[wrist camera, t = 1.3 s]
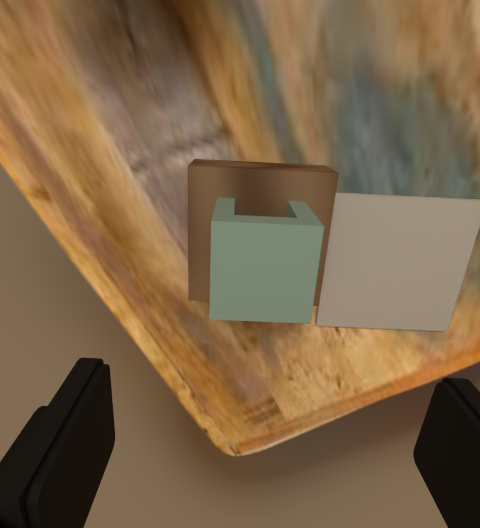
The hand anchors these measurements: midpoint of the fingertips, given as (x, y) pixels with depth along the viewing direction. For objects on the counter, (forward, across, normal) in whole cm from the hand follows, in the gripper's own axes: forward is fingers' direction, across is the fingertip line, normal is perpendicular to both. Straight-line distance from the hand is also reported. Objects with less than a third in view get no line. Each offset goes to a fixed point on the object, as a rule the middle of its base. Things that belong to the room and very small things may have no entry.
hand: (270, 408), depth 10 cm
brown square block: (+20, -1, 0) cm, 21 cm away
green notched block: (+16, -1, 0) cm, 17 cm away
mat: (+20, -13, +3) cm, 24 cm away
